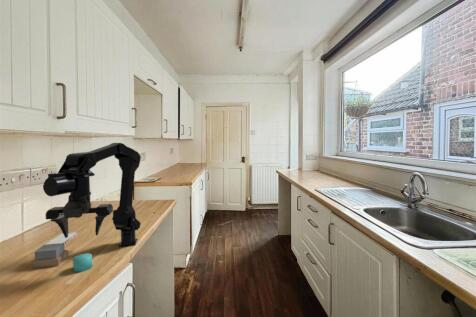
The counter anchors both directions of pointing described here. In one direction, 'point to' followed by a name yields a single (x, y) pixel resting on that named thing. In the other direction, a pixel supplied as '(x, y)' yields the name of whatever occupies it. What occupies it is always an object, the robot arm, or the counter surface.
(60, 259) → the tower base
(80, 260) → the teal round block
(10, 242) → the counter surface
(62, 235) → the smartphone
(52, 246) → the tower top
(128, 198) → the robot arm
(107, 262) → the counter surface
